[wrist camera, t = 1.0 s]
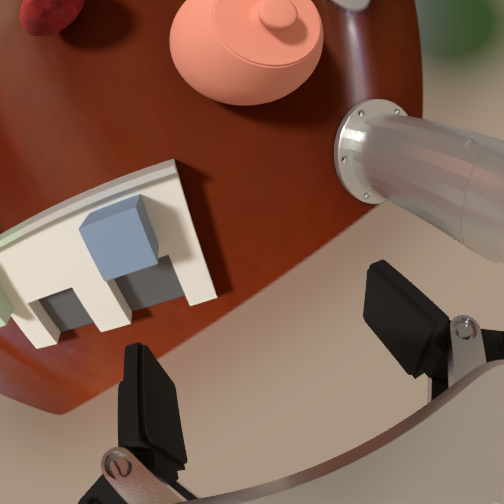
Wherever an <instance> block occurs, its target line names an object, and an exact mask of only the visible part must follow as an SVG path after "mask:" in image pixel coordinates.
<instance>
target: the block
mask: <svg viewBox="0 0 504 504" xmlns="http://www.w3.org/2000/svg"><path fill="white" fill-rule="evenodd" d="M79 232H80V234H81V236H82V238H83V240H84V242H85V245H86V247H87V249H88V251H89V253H90V255H91V257H92V259H93V261H94V263H95V265H96V267H97V269H98V271H99V272H100V274H101V276H102V278H103V280H104V282H105V281H108V280H111V279H114V278H117V277H120V276H123V275H126V274H129V273H132V272H135V271H138V270H141V269H144V268H147V267H150V266H153V265H156V264H158V251H159V244H158V241H157V238H156V236H155V233H154V231H153V228H152V225H151V223H150V220H149V217H148V214H147V212H146V209H145V206H144V203H143V200H142V198H141V195H140V194H138V195H135V196H132V197H129V198H127V199H124V200H121V201H119V202H116V203H113V204H111V205H108V206H106V207H103V208H101V209H98V210H96V211H93V212H91V213H89V214H88V216H87V217H86V219H85V220H84V221H83V223H82V224H81V226H80V227H79Z"/></svg>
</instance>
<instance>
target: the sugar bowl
mask: <svg viewBox="0 0 504 504" xmlns="http://www.w3.org/2000/svg"><path fill="white" fill-rule="evenodd" d="M322 47H323V28H322V22H321V18H320V15H319V13H318V10H317V9H316V7H315V5H314V4H313V2H312V1H311V0H186V1H185V3H184V4H183V5H182V6H181V8H180V9H179V11H178V12H177V14H176V16H175V18H174V21H173V23H172V27H171V32H170V51H171V55H172V59H173V61H174V64H175V66H176V68H177V70H178V71H179V73H180V75H181V76H182V77H183V78H184V80H185V81H186V82H187V83H188V84H189V85H190V86H191V87H193V88H194V89H195V90H197V91H198V92H199V93H201V94H203V95H205V96H206V97H208V98H210V99H213V100H216V101H218V102H222V103H226V104H231V105H242V106H249V105H258V104H263V103H268V102H272V101H275V100H278V99H280V98H282V97H284V96H286V95H288V94H289V93H291V92H292V91H294V90H296V89H297V88H298V87H299V86H300V85H302V84H303V83H304V82H305V81H306V80H307V79H308V78H309V76H310V75H311V74H312V72H313V71H314V69H315V68H316V66H317V64H318V62H319V59H320V56H321V53H322Z"/></svg>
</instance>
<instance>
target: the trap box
mask: <svg viewBox="0 0 504 504" xmlns="http://www.w3.org/2000/svg"><path fill="white" fill-rule="evenodd" d="M138 194H140V195H141V198H142V200H143V203H144V206H145V209H146V212H147V214H148V217H149V220H150V223H151V225H152V228H153V231H154V233H155V236H156V238H157V241H158V244H159V251H158V264H156V265H153V266H150V267H147V268H144V269H141V270H138V271H135V272H132V273H129V274H126V275H123V276H120V277H117V278H114V279H111V280H108V281H105V282H104V280H103V278H102V276H101V274H100V272H99V271H98V269H97V267H96V265H95V263H94V261H93V259H92V257H91V255H90V253H89V251H88V249H87V247H86V245H85V242H84V240H83V238H82V236H81V234H80V232H79V227H80V226H81V224H82V223H83V221H84V220H85V219H86V217H87V216H88V214H89V213H91V212H93V211H96V210H98V209H101V208H103V207H106V206H108V205H111V204H113V203H116V202H119V201H121V200H124V199H127V198H129V197H132V196H135V195H138ZM184 295H185V296H186V298H187V300H188V302H189V305H190V306H192V305H195V304H199V303H202V302H205V301H208V300H211V299H214V298H217V295H216V292H215V288H214V285H213V282H212V279H211V276H210V273H209V270H208V267H207V264H206V261H205V258H204V255H203V252H202V249H201V246H200V243H199V240H198V237H197V234H196V230H195V227H194V224H193V221H192V218H191V214H190V211H189V208H188V205H187V201H186V198H185V195H184V191H183V188H182V185H181V181H180V178H179V174H178V171H177V167H176V164H175V160H174V159H172V160H168V161H165V162H162V163H159V164H156V165H153V166H150V167H147V168H144V169H142V170H139V171H136V172H133V173H130V174H128V175H125V176H122V177H120V178H117V179H115V180H112V181H109V182H107V183H104V184H102V185H100V186H97V187H95V188H92V189H90V190H88V191H85V192H83V193H81V194H78V195H76V196H74V197H72V198H70V199H67V200H65V201H63V202H61V203H59V204H57V205H55V206H53V207H50V208H48V209H46V210H44V211H42V212H40V213H38V214H37V215H35V216H33V217H31V218H29V219H27V220H25V221H23V222H21V223H20V224H18V225H16V226H14V227H12V228H11V229H9V230H7V231H5V232H4V233H2V234H0V327H2V326H5V325H6V324H7V322H8V320H9V318H10V316H12V318H13V319H14V320H15V322H16V323H17V325H18V326H19V327H20V329H21V330H22V331H23V332H24V334H25V335H26V336H27V338H28V339H29V340H30V341H31V343H32V344H33V345H34V346H35V347H36V349H38V348H42V347H46V346H50V345H54V344H57V343H58V339H59V336H60V333H61V332H63V331H66V330H70V329H74V328H77V327H81V326H84V325H88V324H91V323H95V324H96V326H97V327H98V328H99V330H100V331H101V332H103V331H107V330H111V329H114V328H118V327H121V326H125V325H128V324H131V317H132V311H135V310H139V309H142V308H145V307H149V306H152V305H155V304H159V303H162V302H165V301H168V300H172V299H175V298H178V297H181V296H184Z"/></svg>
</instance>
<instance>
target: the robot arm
mask: <svg viewBox="0 0 504 504" xmlns="http://www.w3.org/2000/svg"><path fill="white" fill-rule="evenodd" d="M334 162H335V167H336V171H337V174H338V177H339V179H340V182H341V183H342V185H343V186H344V188H345V189H346V190H347V191H348V192H349V193H350V194H351V195H352V196H354V197H355V198H357V199H359V200H361V201H363V202H365V203H370V204H380V203H383V202H387V201H388V200H390V201H391V202H393V203H395V204H397V205H399V206H400V207H402V208H404V209H406V210H408V211H409V212H411V213H413V214H415V215H416V216H418V217H420V218H422V219H423V220H425V221H427V222H428V223H430V224H432V225H433V226H435V227H437V228H438V229H440V230H441V231H443V232H444V233H446V234H448V235H449V236H451V237H453V238H454V239H455V240H457V241H458V242H460V243H462V244H463V245H465V246H466V247H468V248H469V249H471V250H472V251H474V252H475V253H477V254H478V255H480V256H482V257H483V258H485V259H487V260H490V261H494V262H500V263H504V140H501V139H498V138H494V137H491V136H488V135H485V134H482V133H478V132H475V131H471V130H468V129H464V128H460V127H456V126H452V125H448V124H444V123H439V122H435V121H430V120H425V119H420V118H415V117H409V116H408V115H407V114H406V113H405V112H404V110H403V109H402V108H401V107H399V106H398V105H396V104H395V103H393V102H391V101H388V100H383V99H369V100H365V101H362V102H360V103H359V104H357V105H355V106H354V107H353V108H352V109H351V110H350V111H349V112H348V113H347V114H346V115H345V117H344V118H343V120H342V122H341V124H340V126H339V128H338V131H337V135H336V138H335V145H334ZM363 317H364V320H365V322H366V323H367V324H368V326H369V327H370V328H371V329H372V330H373V332H374V333H375V334H376V335H377V336H378V338H379V339H380V340H381V341H382V342H383V344H384V345H385V346H386V348H387V349H388V350H389V351H390V352H391V354H392V355H393V356H394V357H395V358H396V360H397V361H398V362H399V364H400V365H401V366H402V367H403V369H404V370H405V371H406V372H407V374H409V375H412V376H413V377H414V378H415V379H416V378H417V377H419V376H420V375H422V374H423V373H425V374H426V375H427V376H428V394H427V395H428V396H427V405H425V406H424V407H422V408H421V409H420V410H418V411H417V412H415V413H414V414H412V415H411V416H409V417H408V418H406V419H405V420H403V421H402V422H400V423H398V424H397V425H395V426H394V427H392V428H390V429H389V430H387V431H385V432H383V433H382V434H380V435H378V436H376V437H375V438H373V439H371V440H369V441H367V442H365V443H364V444H362V445H360V446H358V447H356V448H354V449H352V450H350V451H348V452H346V453H344V454H341V455H339V456H337V457H335V458H333V459H331V460H328V461H326V462H324V463H321V464H319V465H317V466H314V467H311V468H309V469H306V470H304V471H301V472H298V473H296V474H293V475H290V476H287V477H284V478H281V479H278V480H275V481H272V482H268V483H265V484H261V485H258V486H255V487H250V488H246V489H242V490H238V491H235V492H230V493H225V494H221V495H216V496H211V497H205V498H200V497H199V496H198V495H196V494H195V493H194V492H192V491H191V490H190V489H189V488H187V487H186V486H185V485H183V484H182V483H181V482H180V481H178V473H177V471H180V470H185V466H184V464H185V463H187V456H186V450H185V445H184V439H183V433H182V428H181V421H180V415H179V409H178V401H177V394H176V388H175V385H174V383H173V381H172V380H171V379H170V377H169V376H168V375H167V373H166V372H165V371H164V369H163V368H162V366H161V365H160V364H159V362H158V361H157V359H156V358H155V357H154V355H153V354H152V352H151V351H150V349H149V348H148V346H147V345H142V344H141V343H140V342H139V343H135V344H131V345H128V346H126V347H125V358H124V378H123V381H121V382H120V383H119V387H118V447H114V448H111V449H109V450H108V451H107V452H106V453H105V454H104V455H103V457H102V460H101V470H102V473H103V474H102V475H101V477H100V478H99V479H98V480H97V481H96V482H95V484H94V485H93V486H92V487H91V488H90V489H89V490H88V491H87V492H86V494H85V495H84V496H83V497H82V498H81V499H80V501H79V502H78V504H504V331H495V330H486V329H480V326H479V324H478V323H477V322H476V320H474V319H473V318H471V317H469V316H466V315H460V316H457V317H455V318H454V319H453V320H452V321H450V320H449V317H448V316H447V315H446V314H445V313H444V312H443V311H442V310H441V309H439V308H438V307H437V306H436V305H435V304H434V303H433V302H432V301H431V300H430V299H429V298H428V297H426V295H424V294H423V293H422V292H421V291H420V290H419V289H418V288H417V287H415V286H414V285H413V284H412V283H411V282H410V281H408V280H407V279H406V278H405V277H404V276H403V275H402V274H400V273H399V272H398V271H397V270H396V269H395V268H393V267H392V266H391V265H390V264H389V263H387V262H386V261H385V260H380V261H378V262H375V263H373V264H371V265H370V268H369V269H368V270H367V281H366V292H365V302H364V312H363Z"/></svg>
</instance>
